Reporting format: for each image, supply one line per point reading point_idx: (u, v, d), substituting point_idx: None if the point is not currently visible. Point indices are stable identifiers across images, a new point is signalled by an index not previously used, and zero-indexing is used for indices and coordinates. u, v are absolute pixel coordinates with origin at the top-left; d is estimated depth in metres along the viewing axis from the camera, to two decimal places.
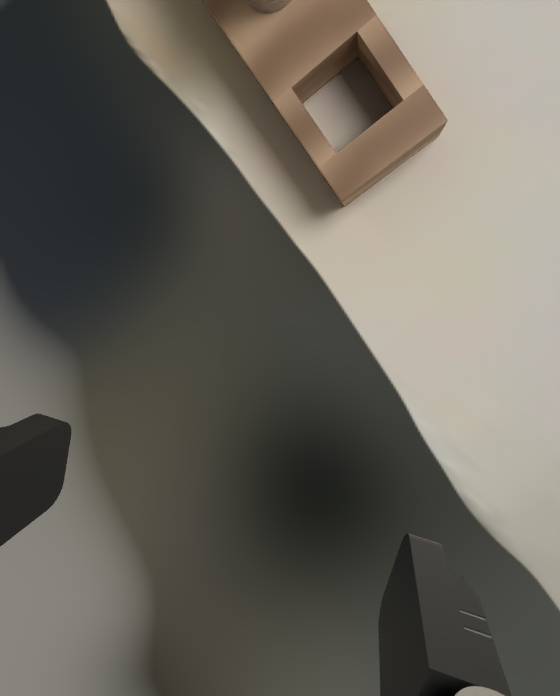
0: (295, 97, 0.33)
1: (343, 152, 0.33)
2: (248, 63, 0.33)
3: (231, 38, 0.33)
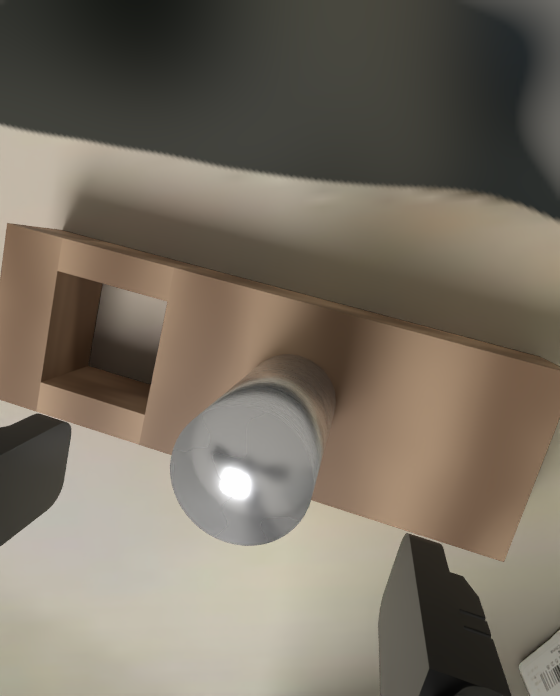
0: (152, 294, 0.21)
1: (51, 278, 0.22)
2: (241, 288, 0.20)
3: (287, 300, 0.20)
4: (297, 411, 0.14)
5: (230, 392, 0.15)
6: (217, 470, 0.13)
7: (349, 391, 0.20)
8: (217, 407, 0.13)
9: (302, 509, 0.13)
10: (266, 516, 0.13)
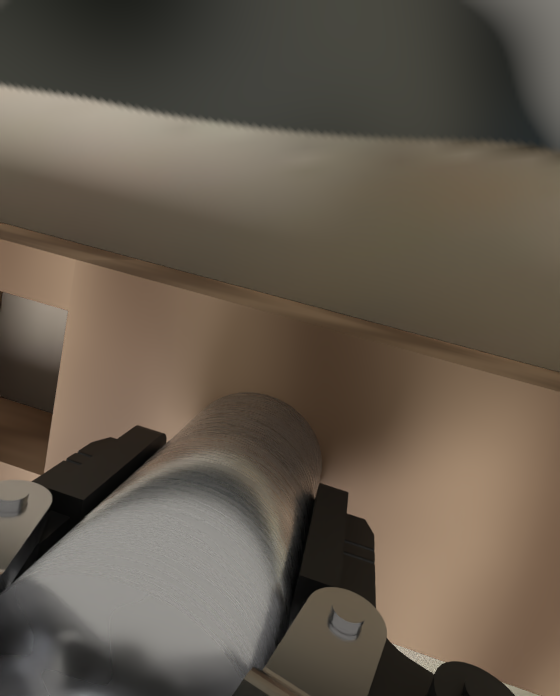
0: (46, 300, 0.14)
1: None
2: (177, 290, 0.13)
3: (246, 310, 0.13)
4: (236, 555, 0.07)
5: (111, 503, 0.08)
6: None
7: (343, 449, 0.13)
8: (45, 575, 0.06)
9: None
10: None
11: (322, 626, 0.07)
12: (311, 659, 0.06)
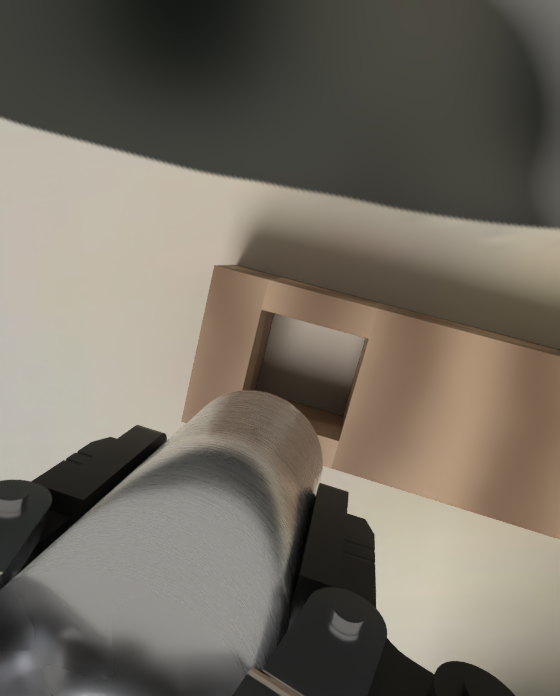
0: (354, 332, 0.23)
1: (254, 316, 0.24)
2: (443, 327, 0.22)
3: (487, 339, 0.22)
4: (237, 551, 0.07)
5: (112, 499, 0.08)
6: None
7: (542, 422, 0.22)
8: (46, 571, 0.06)
9: None
10: None
11: (322, 626, 0.07)
12: (311, 659, 0.06)
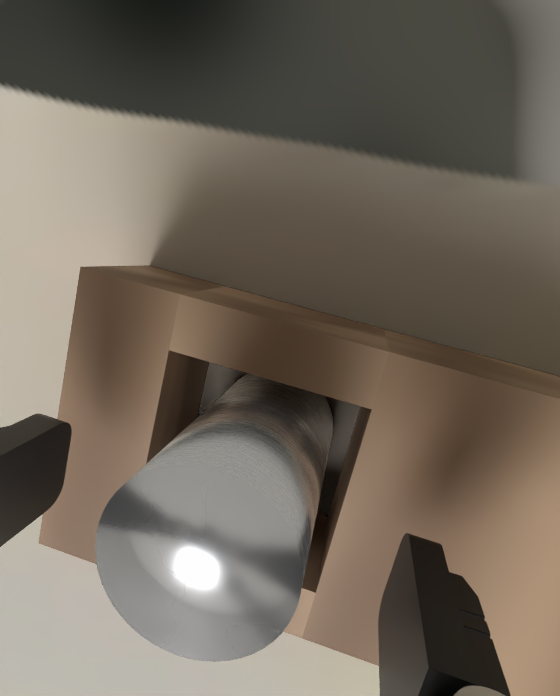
0: (344, 396, 0.12)
1: (156, 362, 0.13)
2: (520, 392, 0.11)
3: None
4: (281, 465, 0.10)
5: (188, 433, 0.10)
6: (162, 556, 0.09)
7: None
8: (161, 466, 0.09)
9: (286, 615, 0.09)
10: (233, 622, 0.09)
11: None
12: None
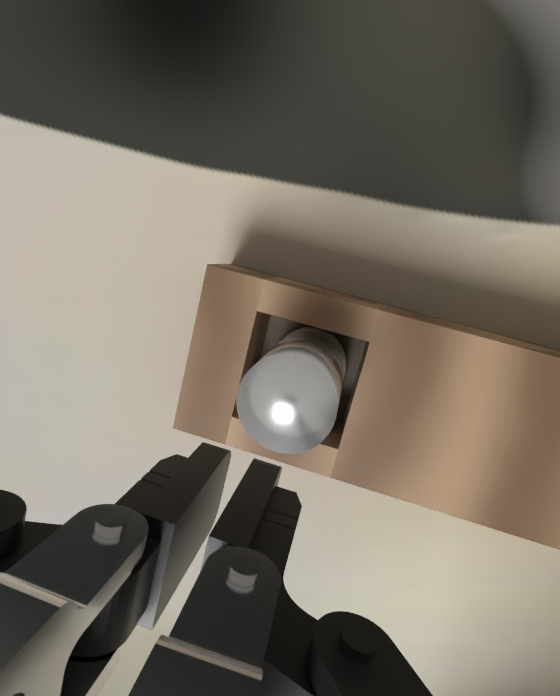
0: (354, 335, 0.22)
1: (249, 317, 0.22)
2: (448, 330, 0.21)
3: (495, 343, 0.21)
4: (324, 362, 0.20)
5: (275, 349, 0.20)
6: (270, 401, 0.19)
7: (553, 430, 0.21)
8: (271, 357, 0.18)
9: (329, 427, 0.19)
10: (303, 432, 0.19)
11: (216, 578, 0.07)
12: (197, 605, 0.06)
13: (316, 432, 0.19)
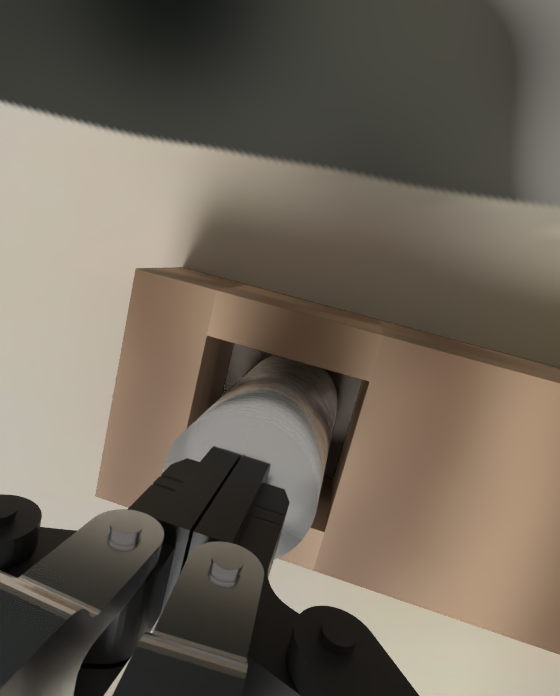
0: (347, 371, 0.15)
1: (196, 345, 0.16)
2: (486, 366, 0.14)
3: (556, 386, 0.14)
4: (300, 419, 0.13)
5: (227, 397, 0.14)
6: None
7: None
8: (213, 415, 0.12)
9: (305, 525, 0.12)
10: None
11: (198, 573, 0.07)
12: (177, 599, 0.06)
13: (285, 533, 0.12)
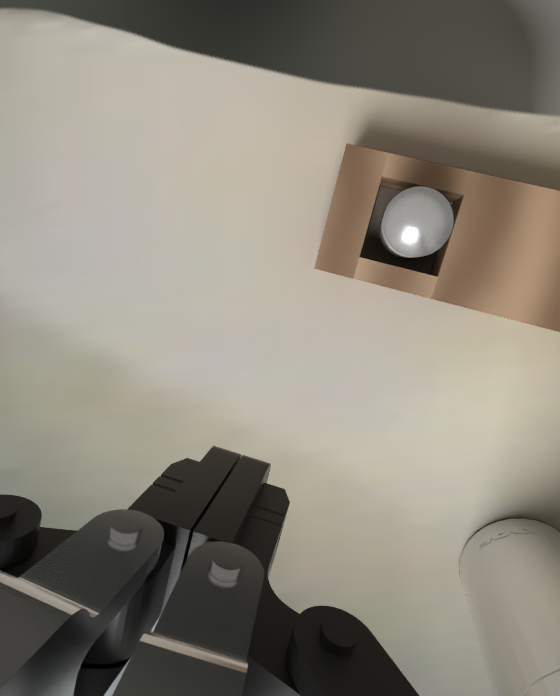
0: (453, 190, 0.31)
1: (376, 181, 0.32)
2: (520, 183, 0.30)
3: (553, 191, 0.30)
4: None
5: None
6: (406, 219, 0.28)
7: None
8: (408, 188, 0.28)
9: (447, 235, 0.28)
10: (429, 240, 0.28)
11: (198, 573, 0.07)
12: (177, 599, 0.06)
13: (438, 239, 0.28)
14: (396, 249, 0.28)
